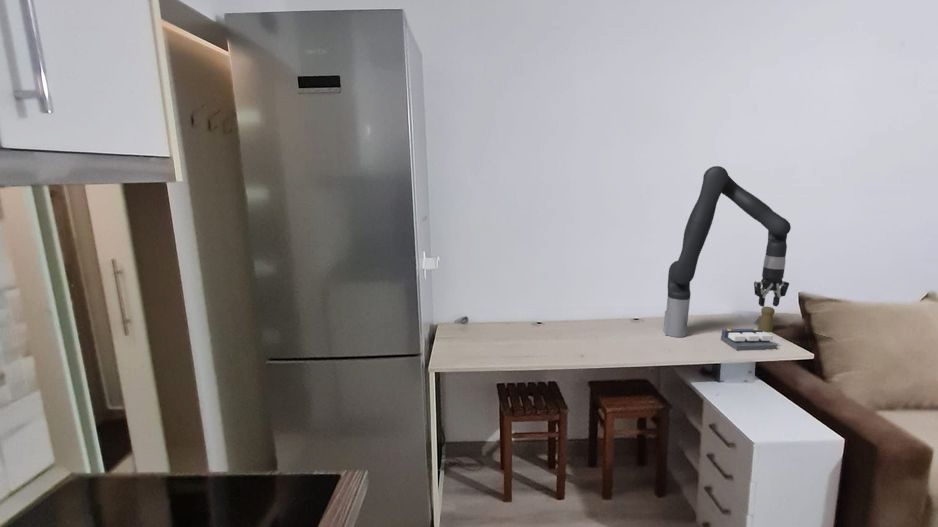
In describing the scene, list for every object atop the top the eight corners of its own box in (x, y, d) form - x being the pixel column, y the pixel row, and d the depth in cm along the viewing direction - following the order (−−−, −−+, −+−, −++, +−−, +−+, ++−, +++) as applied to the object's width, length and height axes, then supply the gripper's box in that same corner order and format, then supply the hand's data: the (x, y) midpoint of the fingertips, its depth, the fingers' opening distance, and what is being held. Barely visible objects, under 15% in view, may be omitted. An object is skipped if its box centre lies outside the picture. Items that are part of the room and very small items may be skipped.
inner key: (734, 341, 208) (735, 336, 208) (728, 337, 212) (728, 332, 212) (745, 341, 208) (745, 336, 208) (738, 337, 213) (739, 332, 212)
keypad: (736, 350, 206) (738, 338, 205) (720, 339, 218) (722, 328, 217) (776, 349, 207) (778, 337, 206) (758, 339, 219) (759, 327, 218)
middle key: (748, 340, 208) (748, 336, 208) (741, 336, 213) (742, 332, 212) (758, 340, 209) (759, 336, 208) (752, 336, 213) (752, 332, 213)
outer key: (762, 340, 209) (762, 336, 208) (755, 336, 213) (755, 332, 213) (772, 340, 209) (773, 335, 209) (765, 336, 214) (766, 332, 213)
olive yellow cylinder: (774, 332, 227) (778, 309, 224) (760, 331, 228) (763, 308, 225) (769, 328, 232) (773, 305, 230) (755, 327, 234) (758, 304, 231)
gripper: (763, 268, 200) (757, 309, 204) (797, 268, 201) (791, 308, 205) (751, 264, 208) (746, 303, 211) (784, 264, 209) (778, 303, 212)
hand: (768, 305), depth 208 cm, fingers open, 5 cm apart
